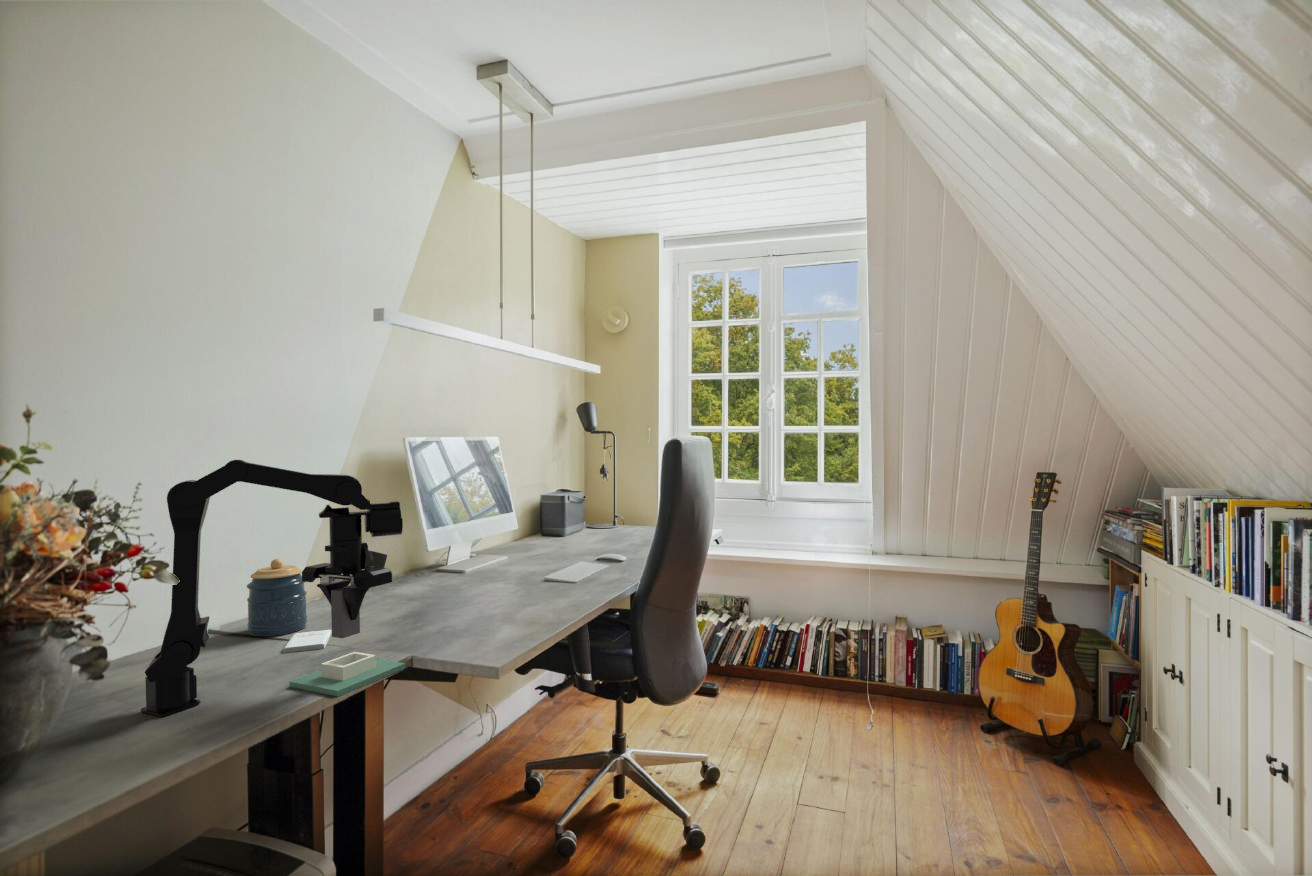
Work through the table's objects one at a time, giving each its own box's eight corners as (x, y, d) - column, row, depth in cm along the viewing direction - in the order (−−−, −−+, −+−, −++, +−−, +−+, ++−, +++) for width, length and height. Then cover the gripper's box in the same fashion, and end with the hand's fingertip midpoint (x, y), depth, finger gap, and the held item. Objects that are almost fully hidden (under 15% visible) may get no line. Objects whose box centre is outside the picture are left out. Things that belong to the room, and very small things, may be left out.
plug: (342, 638, 129) (341, 591, 129) (331, 636, 130) (330, 590, 130) (363, 631, 134) (362, 586, 134) (352, 630, 135) (351, 585, 135)
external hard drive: (283, 655, 149) (293, 639, 161) (324, 650, 152) (331, 635, 163) (283, 648, 149) (293, 632, 161) (324, 643, 152) (331, 628, 163)
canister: (306, 632, 165) (305, 560, 165) (245, 640, 159) (243, 565, 159) (308, 620, 177) (306, 552, 177) (250, 627, 171) (248, 557, 171)
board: (337, 696, 122) (337, 677, 122) (289, 686, 128) (289, 668, 128) (405, 668, 137) (404, 651, 137) (359, 660, 142) (358, 644, 142)
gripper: (412, 535, 135) (414, 613, 135) (346, 531, 143) (348, 605, 143) (367, 543, 125) (369, 627, 125) (299, 539, 133) (300, 618, 133)
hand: (347, 618), depth 132 cm, fingers closed on plug, 3 cm apart
